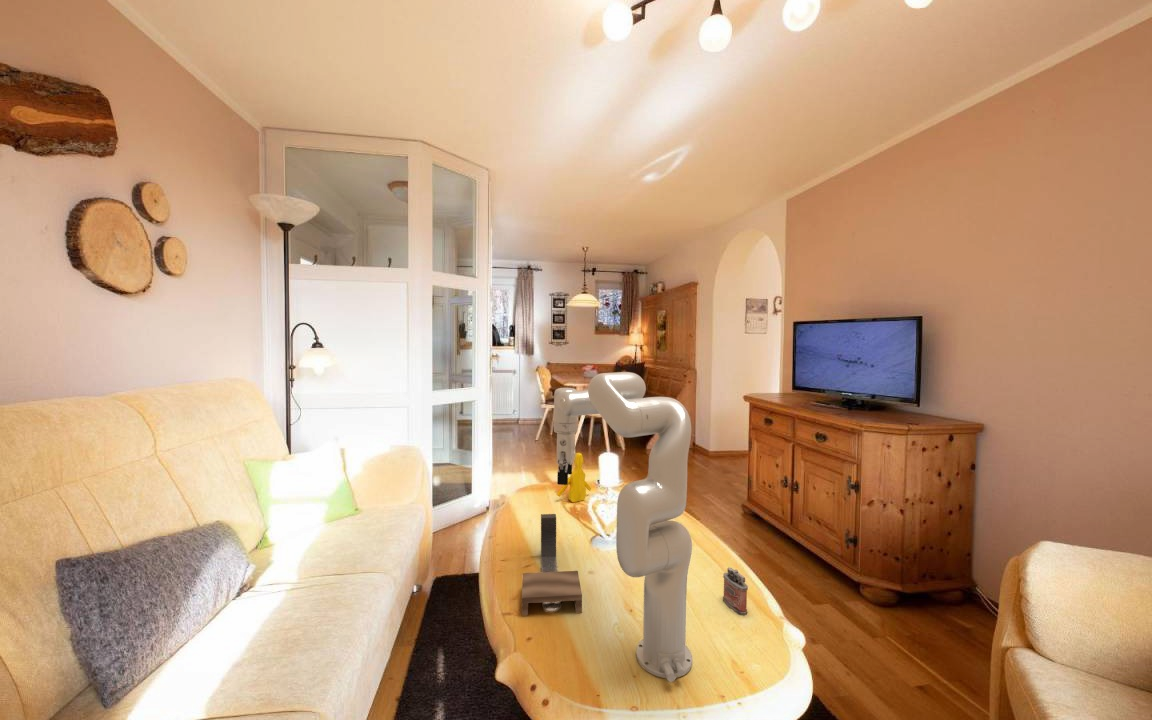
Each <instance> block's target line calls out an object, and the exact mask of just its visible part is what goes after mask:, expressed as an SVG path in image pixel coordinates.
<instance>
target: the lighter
mask: <svg viewBox="0 0 1152 720" xmlns="http://www.w3.org/2000/svg"><path fill="white" fill-rule="evenodd" d="M726 569H727V572H724V573H722V574H723V576H722V577H723V597H722V602H723V603H724V604H725V605H726V606H727V607H728V608H729V609H730V610H731V611H733V612H734V613H736V614H737V615H738V616H743V617H745V616H747V615H748V609H747V605H748V603H747V602H748V596H747V594H748V588H749V586H748V584H747V583H746V577H745V576H744V575H742V574H741V573H739V571H738V569H734V568H733V567H730V566H729V567H727V568H726Z"/></svg>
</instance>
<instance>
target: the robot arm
mask: <svg viewBox="0 0 1152 720" xmlns="http://www.w3.org/2000/svg"><path fill="white" fill-rule="evenodd" d="M646 390H647V387H646V383H645V381H644V379H643V378H642V377H641V376H640V375H639V374H637V373H635V372H632V371H631V372H630V371H621V372H620V371H617V372H601V373H598V374H596V375H594V376H593V377H592V378H591V379H590V381H589V383H588V388H587V389H586V390H583V389H582V390H577V389H576V388H573V387H560V388H559V387H558V388H556V389H555V390H554V393H553V396H554V397H553V399H554V401H553V432H554V433H556V463H557V464H558V467H557V476H556V477H557V485H561V486H564V485H567V484H568V478H569V475H571V474H572V471H573V464H574V459H575V453H576V434H575V433H578V423H579V421H578V420H579V419H578V418H579V416H588V415H598V414H599V415H600V416H601V417H602V419H603V420H604V421H605V422H606V424H607V425H608V426H609V427H610V428H611V429H612V431H613V432H615V434H617V435H618V436H619V437H621V438H622V437H623V438H637V437H643V436H649V435H656V434H657V435H658V437H657V439H656V440H655V442H654V443H653V445H652V447H651V449H650V453H649V457H648V471H647V472H648V473H647V476H646V477H645V478H643V479H640V480H639V479H638V480H635V481H630V482H629V483H627V484H625V485H624V486H623V487H622V488H621V489H620V492H619V494H618V496H617V502H616V536H615V537H616V541H615V542H616V543H615V544H616V545H615V546H616V557H617V561H618V564H619V566H620V568H621V570H622V571H623V573H625V574H626V576H629V577H631V578H641V577H644V582H643V617H642V618H643V621H642V622H643V630H642V631H643V632H642V633H643V634H642V635H643V636H642V637H643V638H642V639H641V640H640V641H638V644H637V646H636V650H635V652H636V654H635V656H636V660H637V662H638V663H639V665H640V667H642V668H643V669H644V671H646V672H648V673H649V674H651V675H653V676H655V677H658V678H664V679H666V680H667V681H668V682H669V683H672V682H675V680H676V679H677V678H680V677H683V676H685V675H686V674H688V673H689V672H690V670H691V669H692V666H693V655H692V652H691V650H690V648H689V647H688V646H687V645H686V637H687V635H686V632H687V630H686V629H687V628H686V627H687V587H688V574H689V566H690V562H691V560H692V559H691V558H692V554H693V542H692V537H691V534H690V532H689V530H688V529H687V528H686V526H685V525H683V524H682V523H681V522H678V521H676V520H674V519H676V518H679V517H680V516H682V515H683V514H684V512H685V510H686V506H687V494H688V493H687V492H688V459H689V452H690V446H691V439H692V422H691V417H690V415H689V412H688V410H687V409H686V407H685V406H684V405H683V404H682V402H681V401H680V400H679V401H678V400H677V399H675V398H673V397H667V396H650V397H649V396H648V397H644V396H645V395H646Z"/></svg>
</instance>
